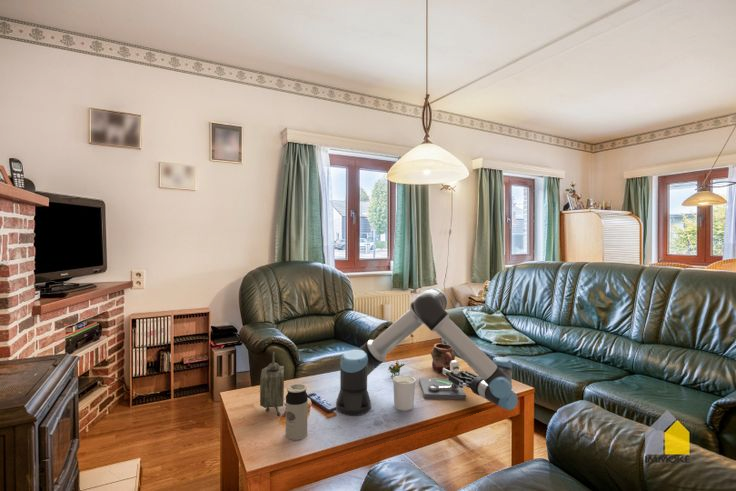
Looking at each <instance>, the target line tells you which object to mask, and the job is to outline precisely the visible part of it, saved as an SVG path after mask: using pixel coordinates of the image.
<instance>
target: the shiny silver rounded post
mask: <svg viewBox="0 0 736 491" xmlns="http://www.w3.org/2000/svg"><path fill="white" fill-rule="evenodd" d="M460 367H461V364H460V362H459V361H458V360H457V359H456V360H453V361H451V363H450V371H451V372H453V374H456V375H458V376H459V370H460ZM428 389H429V390H430V391H439V389H459V386H458V385H456V384H455V383H453V382H451V381H450V386H437V385H429V386H428Z"/></svg>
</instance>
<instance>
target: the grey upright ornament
mask: <svg viewBox="0 0 736 491" xmlns="http://www.w3.org/2000/svg"><path fill="white" fill-rule="evenodd" d="M275 361H276V358H275V351H273V352H272V361H271V362H270V363H269V364H268V365H267V366H265V367H264V368H261V373H260V380H259V381H260V382H259V402H260V404H259V406H260V407H263V408H264V409H265V411H266V412H267V413H268V412H270V408H274V409H275V411H276V416H277V417H280V416H281V412H279V408H281V407H284V399H285V398H284V395H285V393H284V392H285V366H284V365H279V363H277V362H275Z"/></svg>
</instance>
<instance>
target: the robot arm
mask: <svg viewBox="0 0 736 491" xmlns="http://www.w3.org/2000/svg"><path fill="white" fill-rule="evenodd" d="M409 304H410V305H409V309H408V310H407V311H406V312H405V313H403V314H402V315H401V316H399V318H397V320H395V321H394V322H393V323H392V324H391V325H389V326H388V328H386V329H385V330H384V331H382V332H381V333H380V334H379V335H378V336H377V337H376V338H375V339H369V340H368V341H366V342H365V343H364V344H363V345H362V346H360V347H359V348H358V349H351V350H347V351H345V352H344V353H342V355H341V356H340V361H339V366H340V368H339V369H340V370H339V371H340V376H339V377H340V378H339V379H340V381H339V382H340V384H339V385H340V388H339V392H338V396H337V399H336V400H335V401H336V402H335V409H336V410H337V412H338V413H340V414H344V415H346V416H347V415H348V416H360V415H363V414H366V413H368V412H369V411H371V409H372V401H371V398H370V397H371V396H370V395H369V390H368V376H369V375H370V374H371V373H372V372H373V371H375V369H377V368H378V367H379V366H380V365H381V364H382V363H383V362H385V361H386V359H387V356H388V354H389V353H391V351H393V350H394V349H395V348H396V347H397V346H398V345H399V344H401V343H402V342H403V341H404V340H406V339H407V338H408V337H409V336H410V335H411V334H413V333H414V332H415V331H416V330H417V329H419V328H420V327H421V326H422V325H425V326H426V327H427V328H428V329H429V330H430V331H431V332H436V334H437V335H439V337H440V338H441V339H442V340H443V341H444V342H445V344H448V345H449V346H450V347H451V348H452V349H453V352H454V353H456V354H457V355H458V356H459V358H461V359H462V360H463V361H464V363H466V365H468V366H469V367H470V369H471V370H473V371H474V373H472V372H470V371H468V370H460V369H459V376H458V375H456V374H453V372H451V371H449V370H447V369H445V368H443V373H442V375H444V376H446V377H447V378H448V379H449V381H451V382H453V383H455V384H456V385H458V386H459V387H460V388H462V389H463V388H464V387H466V388H468V389H470V390H471V392H472V393H474V394H475V395H477V396H479V397H481V398H483V399H485V400H487V401H489V402H490V403H493V405H494V404H495V405H496V406H497V407H499V408H502V409H504V410H507V411H513V410H514V409H515V408H516V407H517V404H518V395H517V393H516V392H514V391H513V384H512V382H513V381H512V380H513V378H512V377H513V376H512V375H513V373H512V372H513V365H512V364H513V362H512V360H511V359H510V358H508V357H505V356H496V357H493V359H491V358H490V357H489V356H488V355H487V354H486V353H485V352H484V351H483V350H482V349H481V348H480V347H478V345H477V344H476V343H475V342H473V340H472V339H471V338H470V337H469V336H468V335H467V334H466V333H464V332H463V331H462V329H461V328H460V327H459V326H458V325H456V323H455V322H454V321H453V320H452V319H451V318H450V314H449V313H448V312H447V311H446V309H447V305H448V299H447V296H446V294H445V293H444V291H443V290H440V289H439V288H434V287H431V288H427V289H425V290H424V291H423V292H421V293H419V294H418V295H417V297H416V298H415V299H414V300H413V301H411V302H410V303H409Z"/></svg>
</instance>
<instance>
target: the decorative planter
mask: <svg viewBox="0 0 736 491" xmlns="http://www.w3.org/2000/svg"><path fill="white" fill-rule="evenodd" d="M430 355H431V358H432V362H431V367H432V370H433V371H434V372H436V373H439V374H443V368H445V369H447V370H449V371H450V363H451V361H453V360H455V359H456V355H455V351H454V350H453V349H452V348H451V347H450V346H449V345H448V344H447V343H441V342H439V343H435V344H433V348H432V349H431V350H430Z"/></svg>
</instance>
